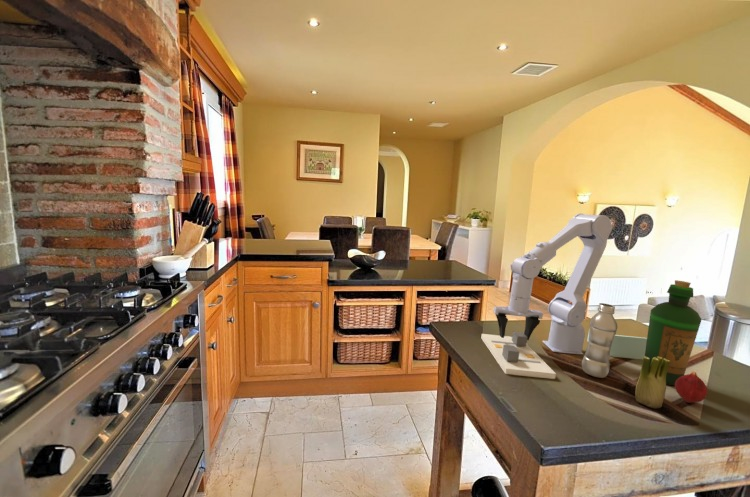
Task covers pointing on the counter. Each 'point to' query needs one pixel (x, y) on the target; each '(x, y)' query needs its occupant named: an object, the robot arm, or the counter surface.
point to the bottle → (673, 330)
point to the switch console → (526, 363)
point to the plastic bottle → (600, 341)
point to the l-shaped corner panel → (628, 346)
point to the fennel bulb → (652, 382)
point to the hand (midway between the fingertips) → (513, 337)
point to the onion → (691, 388)
